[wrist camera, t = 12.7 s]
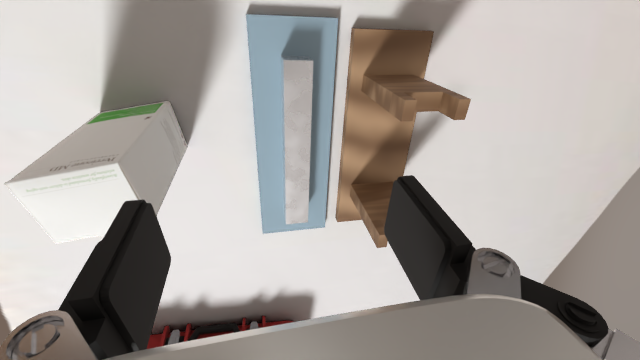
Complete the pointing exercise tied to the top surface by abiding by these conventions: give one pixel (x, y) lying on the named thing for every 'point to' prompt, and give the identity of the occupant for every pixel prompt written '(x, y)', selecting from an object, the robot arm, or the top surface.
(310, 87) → the aluminium rail
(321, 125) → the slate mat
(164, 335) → the first aid kit
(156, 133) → the skincare box
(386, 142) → the cradle stand
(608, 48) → the top surface
